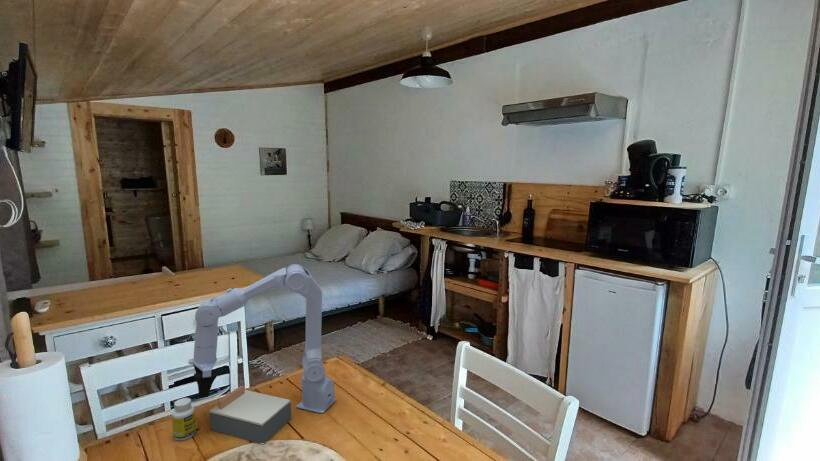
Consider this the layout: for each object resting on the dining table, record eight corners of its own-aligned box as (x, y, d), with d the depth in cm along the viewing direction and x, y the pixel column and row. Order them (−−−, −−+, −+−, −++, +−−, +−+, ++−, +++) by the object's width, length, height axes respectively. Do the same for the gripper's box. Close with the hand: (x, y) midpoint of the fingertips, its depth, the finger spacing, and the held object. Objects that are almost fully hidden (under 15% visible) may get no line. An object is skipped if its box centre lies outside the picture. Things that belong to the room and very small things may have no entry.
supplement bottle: (186, 442, 107) (183, 408, 106) (169, 439, 109) (165, 406, 107) (200, 430, 113) (198, 397, 111) (184, 427, 114) (181, 395, 112)
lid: (290, 401, 117) (290, 392, 117) (262, 426, 106) (261, 416, 105) (241, 390, 123) (240, 382, 123) (209, 412, 112) (208, 403, 112)
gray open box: (291, 418, 118) (290, 402, 117) (263, 444, 107) (262, 427, 106) (242, 406, 124) (241, 391, 123) (210, 430, 113) (209, 413, 112)
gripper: (188, 335, 117) (185, 380, 118) (191, 356, 105) (188, 405, 106) (214, 333, 121) (211, 376, 122) (221, 353, 109) (217, 400, 110)
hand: (202, 390), depth 114 cm, fingers open, 7 cm apart
